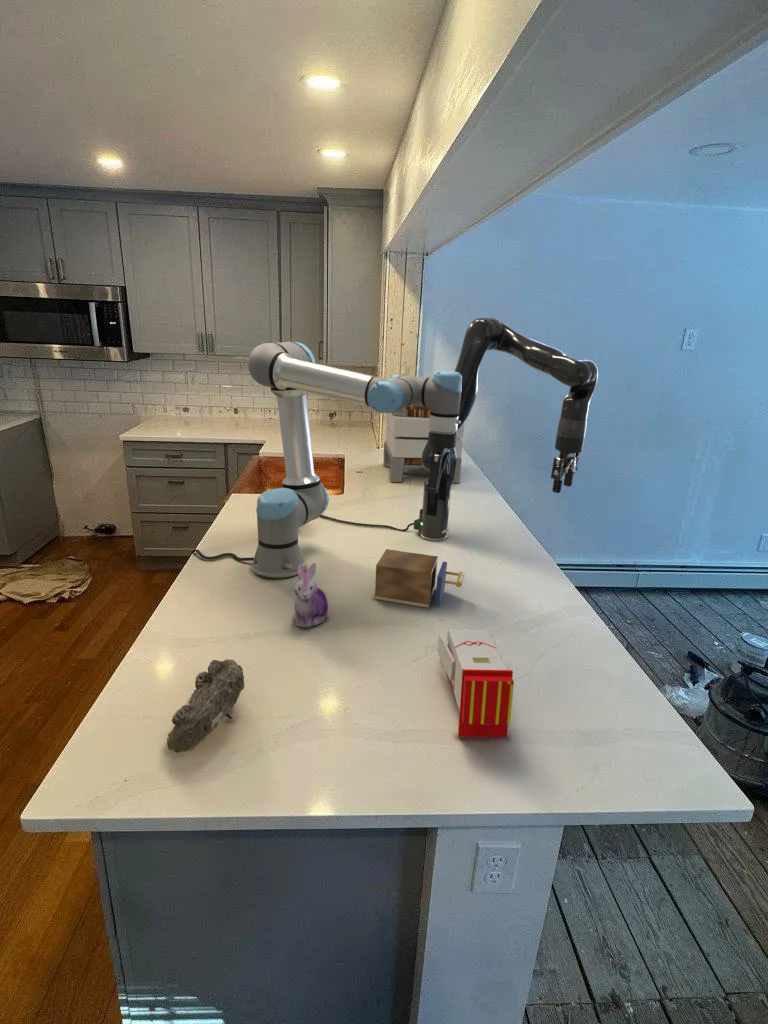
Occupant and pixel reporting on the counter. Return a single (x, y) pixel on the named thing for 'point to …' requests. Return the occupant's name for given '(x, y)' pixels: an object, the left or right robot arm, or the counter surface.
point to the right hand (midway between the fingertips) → (561, 489)
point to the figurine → (309, 599)
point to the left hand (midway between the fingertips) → (436, 507)
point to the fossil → (206, 705)
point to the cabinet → (405, 577)
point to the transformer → (411, 440)
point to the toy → (478, 682)
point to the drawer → (443, 581)
